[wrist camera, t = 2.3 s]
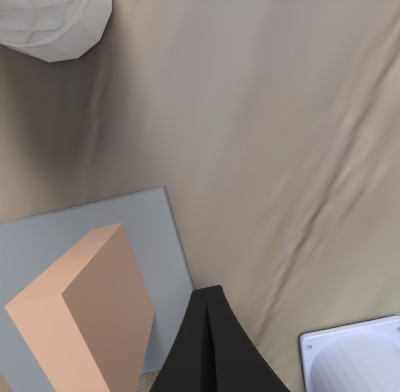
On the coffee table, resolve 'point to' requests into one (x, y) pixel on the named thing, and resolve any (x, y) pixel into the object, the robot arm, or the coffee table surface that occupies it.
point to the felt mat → (67, 237)
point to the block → (88, 315)
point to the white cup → (53, 26)
